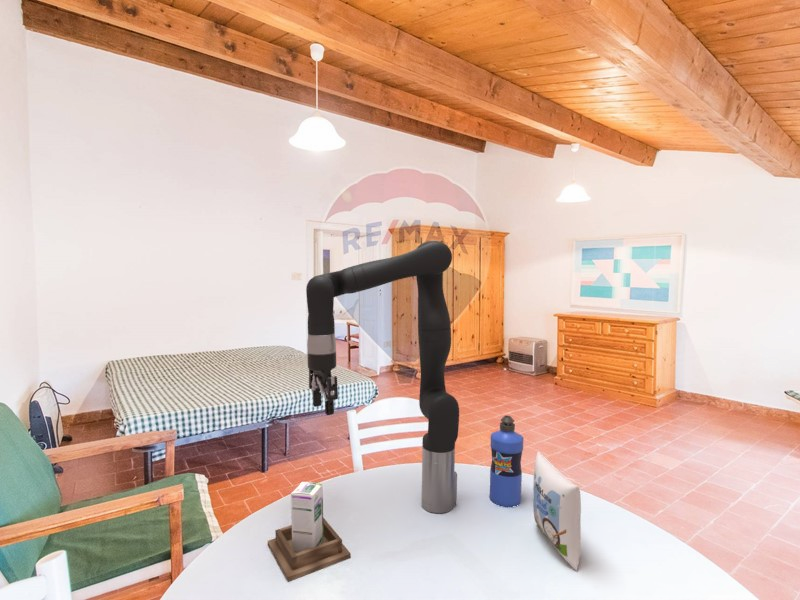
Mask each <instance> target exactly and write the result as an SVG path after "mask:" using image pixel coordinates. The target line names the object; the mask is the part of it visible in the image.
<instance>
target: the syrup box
mask: <svg viewBox="0 0 800 600" xmlns="http://www.w3.org/2000/svg"><path fill="white" fill-rule="evenodd" d="M323 487H324V486H323V484H322V483H319V482H313V481H301V482H300V484H299V485H297V486H296V488H294V490H293V491H292V492H291V493H290V503H291V504H290V505H291V506H290V509H291V510H290V511H291V512H290V514H291V516H290V518H291V525H292V549H293V551H294V552H301V551H304V550H307V549H310V548H313V547H315V546H318V545H321V543H322V542H323V540H324V534H323V518H324V494H323V493H324V489H323Z"/></svg>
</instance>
